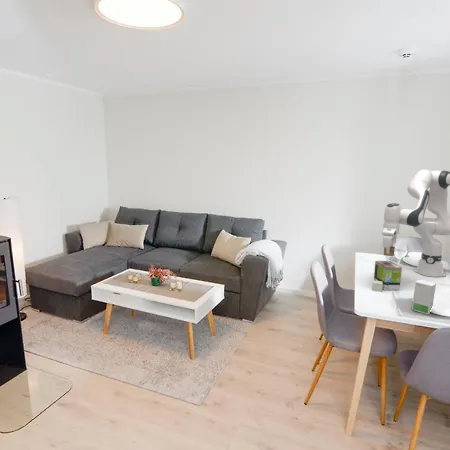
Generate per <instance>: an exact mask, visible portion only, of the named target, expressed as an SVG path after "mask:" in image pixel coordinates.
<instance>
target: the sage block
mask: <svg viewBox="0 0 450 450" xmlns="http://www.w3.org/2000/svg"><path fill="white" fill-rule="evenodd" d="M372 282H373V283H372V291H373V292H381V293H382V292H383V289H382V286H383V283H382V281H374V279H373V281H372Z"/></svg>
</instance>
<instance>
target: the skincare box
mask: <svg viewBox="0 0 450 450" xmlns="http://www.w3.org/2000/svg"><path fill="white" fill-rule="evenodd" d="M414 283H415V284H414V291H413V297H412V298H413V299H412V305H411V310H412V311H415V312H418V313H422V314H424V315H430V314H431V313H430V310H431V308H432V306H433V307H434V300H435V294H436V287H437V283H436V282H432V281H428V280H425V279H418V280H416V281H415V282H414ZM432 309H433V308H432Z"/></svg>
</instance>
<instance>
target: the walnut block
mask: <svg viewBox="0 0 450 450" xmlns="http://www.w3.org/2000/svg"><path fill="white" fill-rule="evenodd" d="M394 255H395V246H393V247H392V246H391V247H390V253H389V254H387V253H386V248H384V247H383V256H387V257H393V256H394Z"/></svg>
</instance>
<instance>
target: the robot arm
mask: <svg viewBox="0 0 450 450" xmlns="http://www.w3.org/2000/svg"><path fill="white" fill-rule="evenodd" d="M448 187H450V171H448V170H434V169H432V170H429V169H425V168H424V169H420V170H418V171H417V172H416V174H415V175H414V176H413V177H412V179H411V180H410V182H409V183H408V185H407V192H408V194H409V195H410V196H411V197H412V198H414V199H415V200H418V202H417V204H416V207H415V208H414V209H413V208H411V209H410V208H409V209H408V208H403V207H401V205H400V203H395V202H394V203H388V204H387V205H385V209H384V213H383V220H384V221H383V225H382V226H383V227H382V231H381V235H382V247H383V249H384V248H386V253H387V254H389V253H390V247H391V246H392V247H394V245H395V244H396V243H397V235H399V234H400V227H401V226H400V225H404V226H410V227H412V228H413V230H414V231H415V232H416V233H417V234H418V235H419V236H420V238H421V240H422V253H421V255H420V256H421V257H420V259H419V260H418V262H417V268H415V269H414V271H413V272H415V273H417V274H419V275H422V276H426V277H433V278H434V277H435V278H438V277H446V273H445V271H444V263H443V262H442V260H443V257H442V252H443V251H442V250H443V243H442V242H441V241H440V240H437V239H436V238H434V237H433V235H434V236H438V235H439V236H450V214H449V212H448V195H449V194H448V192H449V191H448ZM426 210H428V211H429V212H430V213H432V214H434V215H435V216H436V217H435V218H433V217H430V218H429V217H425V212H426Z"/></svg>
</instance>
